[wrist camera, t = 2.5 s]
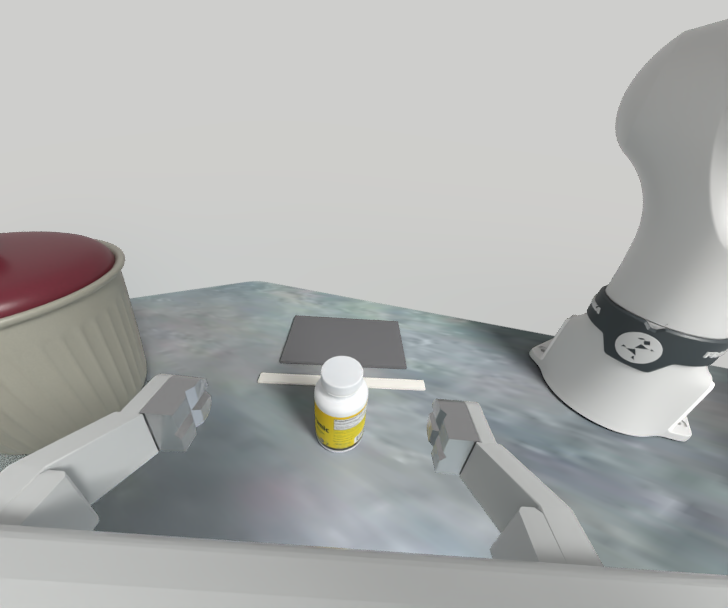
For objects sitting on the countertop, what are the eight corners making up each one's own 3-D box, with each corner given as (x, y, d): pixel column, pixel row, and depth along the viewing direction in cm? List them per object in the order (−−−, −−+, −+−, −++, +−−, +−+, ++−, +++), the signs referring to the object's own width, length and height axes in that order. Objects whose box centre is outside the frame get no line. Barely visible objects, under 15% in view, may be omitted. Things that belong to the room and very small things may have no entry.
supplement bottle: (311, 415, 32) (309, 354, 27) (356, 406, 34) (362, 346, 29) (319, 461, 28) (318, 398, 23) (369, 448, 30) (379, 387, 24)
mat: (397, 323, 49) (397, 321, 49) (406, 369, 40) (406, 367, 39) (295, 317, 48) (295, 315, 48) (280, 363, 39) (280, 361, 39)
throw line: (422, 381, 38) (423, 380, 38) (425, 390, 37) (425, 389, 37) (261, 374, 37) (261, 372, 37) (258, 382, 36) (257, 381, 35)
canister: (83, 341, 39) (-17, 183, 28) (204, 359, 38) (153, 202, 27) (-118, 475, 24) (-519, 248, 13) (75, 510, 23) (-170, 298, 12)
